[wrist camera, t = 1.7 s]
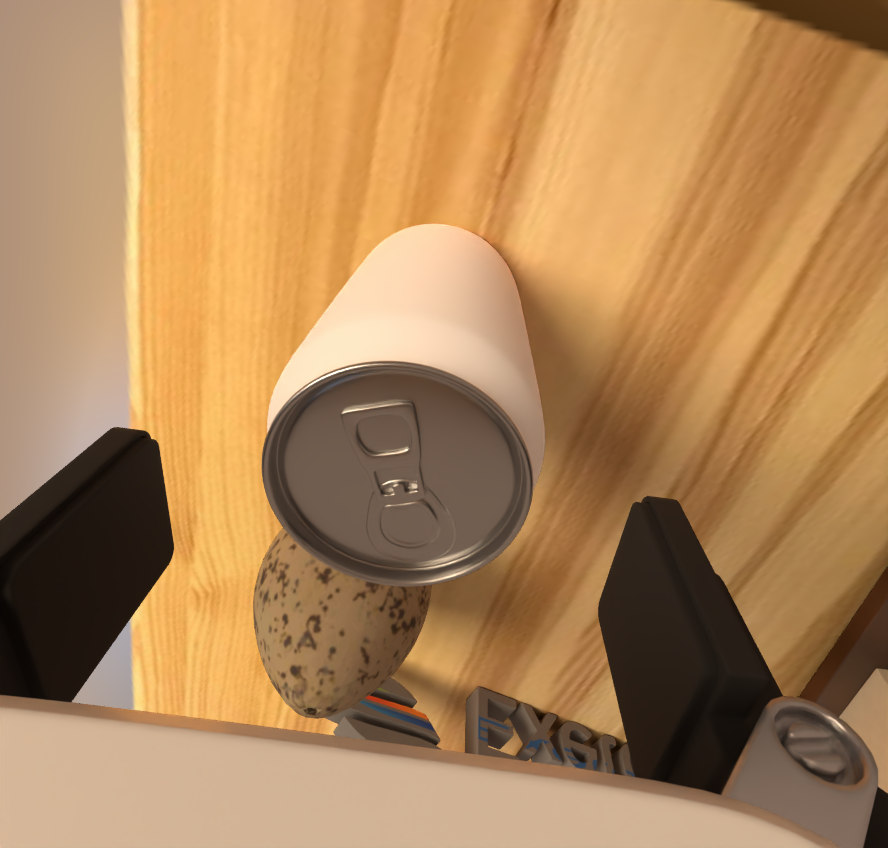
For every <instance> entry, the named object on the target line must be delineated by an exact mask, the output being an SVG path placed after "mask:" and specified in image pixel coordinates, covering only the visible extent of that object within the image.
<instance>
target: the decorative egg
mask: <svg viewBox="0 0 888 848" xmlns="http://www.w3.org/2000/svg"><path fill="white" fill-rule="evenodd" d="M430 594H431V585H426V586H413V587H404V586H390V585H382V584H377V583H372V582H368V581H364V580H360V579H357V578H354V577H351V576H349V575H346V574H344V573H341V572H339V571H337V570H335V569H333V568H331V567H329V566H327V565H326V564H324V563H322V562H321V561H319V560H318V559H316V558H315V557H313V556H312V555H311V554H309V553H308V552H307V551H306V550H304V549H303V548H302V547H301V546H300V545H299V544H298V543H297V542H296V541H295V540H294V539H293V538H292V537H291V536H290V535H289V534H288V533H287V531H286V530H285V529H284V528H282V529H281V531H280V532H279V533H278V535H277V536H276V538H275V539H274V540H273V542H272V544H271V545H270V547H269V549H268V551H267V553H266V555H265V557H264V559H263V562H262V565H261V567H260V570H259V573H258V578H257V582H256V586H255V591H254V601H253V614H254V628H255V634H256V639H257V644H258V649H259V652H260V656H261V659H262V662H263V665H264V667H265V670H266V672H267V674H268V676H269V678H270V680H271V682H272V684H273V685H274V687H275V688H276V690H277V691H278V693H279V694H280V696H281V697H282V698H283V700H284V701H285V703H286V704H287V705H289V706H290V707H291V708H292V709H293V710H294V711H295V712H297V713H298V714H299V715H302V716H305V717H308V718H325V717H329V716H333V715H336V714H338V713H340V712H343V711H345V710H347V709H349V708H350V707H352V706H354V705H355V704H357V703H359V702H360V701H362V700H363V699H364V698H366V697H367V696H369V695H370V694H372V693H373V692H374V691H375V690H377V689H378V688H379V687H380V686H381V685H382V684H384V683H385V682H386V681H387V680H388V678H389V677H390V676H392V675H393V673H394V672H395V671H396V670H397V669H398V668H399V666H400V665H401V664H402V662H403V661H404V660H405V658H406V657H407V655H408V654H409V652H410V651H411V649H412V647H413V646H414V644H415V642H416V640H417V638H418V636H419V634H420V631H421V629H422V627H423V624H424V621H425V618H426V614H427V611H428V607H429V601H430Z"/></svg>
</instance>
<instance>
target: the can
mask: <svg viewBox="0 0 888 848" xmlns="http://www.w3.org/2000/svg"><path fill="white" fill-rule="evenodd" d="M544 451H545V427H544V419H543V412H542V406H541V400H540V395H539V389H538V384H537V379H536V374H535V369H534V364H533V359H532V354H531V349H530V344H529V339H528V335H527V330H526V325H525V320H524V316H523V311H522V306H521V302H520V297H519V293H518V289H517V286H516V283H515V280H514V277H513V275H512V273H511V271H510V269H509V267H508V266H507V264H506V262H505V261H504V259H503V258H502V257H501V255H500V254H499V253H498V252H497V251H496V250H495V249H494V248H493V247H492V246H491V245H490V244H489V243H487V242H486V241H485V240H483V239H482V238H480V237H479V236H477V235H475V234H473V233H471V232H469V231H467V230H465V229H462V228H459V227H455V226H451V225H445V224H423V225H417V226H412V227H409V228H406V229H403V230H401V231H399V232H396V233H395V234H393V235H391V236H389V237H388V238H386V239H385V240H384V241H382V242H381V243H380V244H379V245H377V246H376V247H375V248H374V249H373V250H372V252H371V253H370V254H369V255H368V256H367V257H366V258H365V260H364V261H363V262H362V263H361V265H360V266H359V267H358V269H357V270H356V271H355V272H354V274H353V275H352V276H351V278H350V279H349V280H348V282H347V283H346V284H345V286H344V287H343V288H342V289H341V291H340V292H339V293H338V295H337V296H336V297H335V299H334V300H333V301H332V303H331V304H330V305H329V307H328V308H327V309H326V311H325V312H324V313H323V315H322V316H321V317H320V319H319V320H318V322H317V323H316V324H315V326H314V327H313V328H312V330H311V331H310V332H309V334H308V335H307V336H306V338H305V339H304V341H303V342H302V343H301V345H300V346H299V347H298V349H297V350H296V352H295V353H294V355H293V356H292V358H291V359H290V361H289V362H288V364H287V365H286V367H285V368H284V370H283V372H282V374H281V376H280V378H279V380H278V382H277V384H276V387H275V389H274V392H273V395H272V398H271V401H270V406H269V411H268V420H267V436H266V439H265V443H264V447H263V453H262V477H263V483H264V488H265V492H266V495H267V498H268V501H269V503H270V505H271V508H272V510H273V512H274V514H275V515H276V517H277V519H278V520H279V522H280V523H281V525H282V526H283V528H284V529H285V530H286V531H287V533H288V534H289V535H290V536H291V537H292V538H293V539H294V540H295V541H296V542H297V543H298V544H299V545H300V546H301V547H302V548H303V549H304V550H306V551H307V552H308V553H309V554H311V555H312V556H313V557H315V558H316V559H318V560H319V561H321V562H322V563H324V564H326V565H327V566H329V567H331V568H333V569H335V570H337V571H339V572H341V573H344V574H346V575H349V576H351V577H354V578H357V579H360V580H364V581H368V582H372V583H377V584H382V585H390V586H404V587H413V586H426V585H434V584H439V583H444V582H448V581H451V580H455V579H458V578H460V577H463V576H466V575H468V574H470V573H472V572H474V571H476V570H478V569H480V568H482V567H483V566H485V565H487V564H488V563H490V562H491V561H492V560H494V559H495V558H496V557H497V556H499V555H500V554H501V553H502V552H503V551H504V550H505V549H506V548H507V547H508V546H509V545H510V544H511V542H512V541H513V540H514V539H515V537H516V536H517V534H518V533H519V531H520V530H521V528H522V526H523V524H524V522H525V520H526V517H527V515H528V512H529V509H530V505H531V501H532V495H533V489H534V487H535V485H536V483H537V480H538V478H539V475H540V472H541V468H542V464H543V459H544Z"/></svg>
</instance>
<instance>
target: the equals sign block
mask: <svg viewBox="0 0 888 848" xmlns="http://www.w3.org/2000/svg"><path fill="white" fill-rule="evenodd" d="M839 718H841V719H842V720H843V721H845V722H846V723H847V724H848V725H849V726H850V727H851V728H852V729H853V730H854V731H855V732H856V733H857V734H858V735H859V736H860V737H861V738H862V740H863V741H864V743H865V744H866V745H867V747H868V748H869V750H870V751H871V753H872V755H873V757H874V760H875V762H876V765H877V767H878V787H880V788H881V789H882V790H884V791H885V792H886V793H888V670H886V669H878V668H876V669H875V670H874V672H873V673H872V674H871V676H870V677H869V678H868V680H867V681H866V682H865V684H864V685H863V686H862V688H861V689H860V690H859V692H858V693H857V694H856V695H855V697H854V698H853V699H852V701H851V702H850V703H849V705H848V706H847V707H846V709H845V710H844V711H843V713H842V714H841V715H840V717H839Z"/></svg>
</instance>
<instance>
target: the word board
mask: <svg viewBox="0 0 888 848" xmlns="http://www.w3.org/2000/svg"><path fill="white" fill-rule="evenodd" d="M876 668H878V669H886V670H888V567H887V569H886V570H885V572H884V573H883V575H882V576H881V577H880V579H879V580H878V582H877V583H876V585H875V586H874V588H873V589H872V591H871V592H870V594H869V595H868V597H867V598H866V600H865V601H864V603H863V604H862V605H861V607H860V608H859V610H858V611H857V613H856V614H855V616H854V617H853V619H852V620H851V622H850V623H849V625H848V626H847V628H846V629H845V630H844V632H843V633H842V635H841V636H840V638H839V639H838V641H837V642H836V644H835V645H834V647H833V648H832V650H831V651H830V653H829V654H828V655H827V657H826V658H825V660H824V661H823V663H822V664H821V666H820V667H819V669H818V670H817V672H816V673H815V675H814V676H813V678H812V679H811V681H810V682H809V683H808V685H807V686H806V688H805V689H804V691H803V692H802V694H801V695H800V697H799V698H802V699H805V700H808V701H811V702H814V703H816V704H818V705H820V706H822V707H824V708H826V709H828V710H829V711H831V712H832V713H834V714H835V715H836V716H838V717H840V715H841V714H842V713H843V711H844V710H845V709H846V707H847V706H848V705H849V703H850V702H851V701H852V699H853V698H854V697H855V695H856V694H857V693H858V692H859V690H860V689H861V688H862V686H863V685H864V684H865V682H866V681H867V680H868V678H869V677H870V676H871V674H872V673H873V672H874V670H875V669H876Z"/></svg>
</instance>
